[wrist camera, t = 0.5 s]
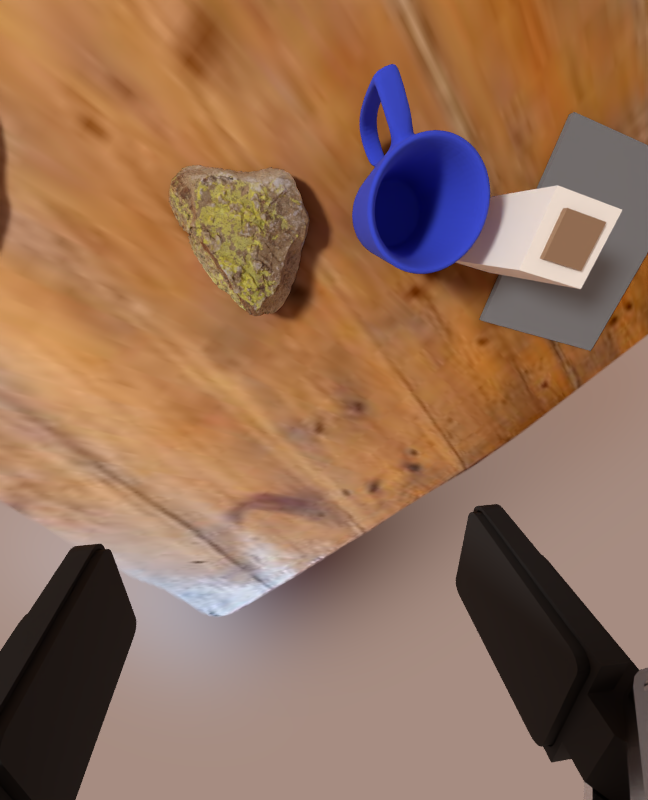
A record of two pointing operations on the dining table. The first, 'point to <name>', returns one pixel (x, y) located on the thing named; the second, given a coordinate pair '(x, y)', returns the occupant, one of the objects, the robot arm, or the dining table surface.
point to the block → (543, 236)
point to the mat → (620, 256)
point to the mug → (417, 187)
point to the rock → (243, 230)
